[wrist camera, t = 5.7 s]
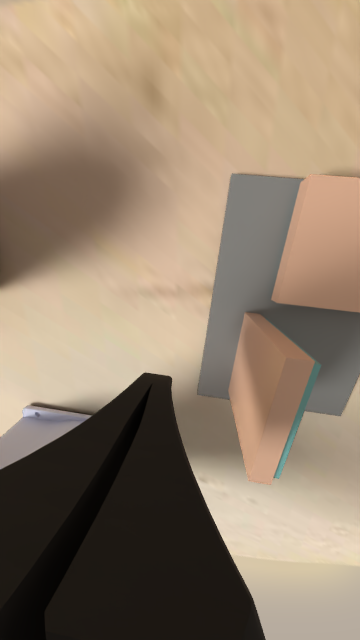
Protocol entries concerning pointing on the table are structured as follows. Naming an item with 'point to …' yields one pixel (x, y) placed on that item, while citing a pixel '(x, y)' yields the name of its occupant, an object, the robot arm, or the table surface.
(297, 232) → the tile
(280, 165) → the table surface
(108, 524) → the robot arm
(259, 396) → the tile
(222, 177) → the table surface
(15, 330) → the table surface
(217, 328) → the mat
